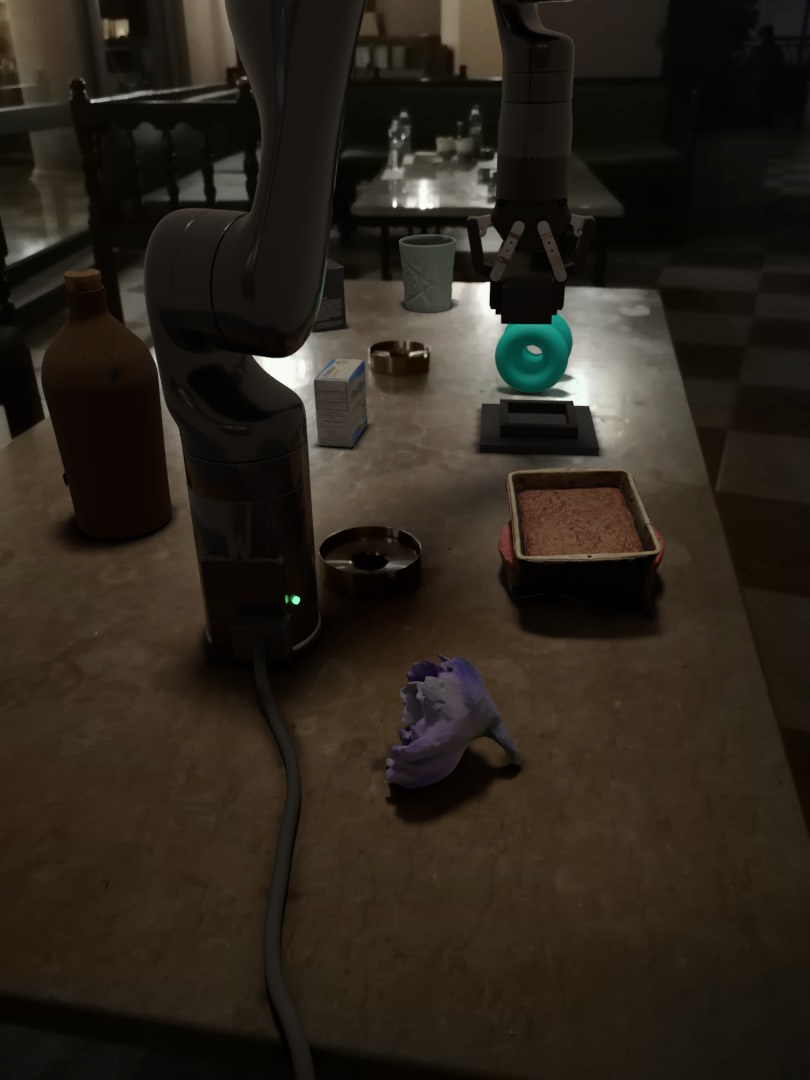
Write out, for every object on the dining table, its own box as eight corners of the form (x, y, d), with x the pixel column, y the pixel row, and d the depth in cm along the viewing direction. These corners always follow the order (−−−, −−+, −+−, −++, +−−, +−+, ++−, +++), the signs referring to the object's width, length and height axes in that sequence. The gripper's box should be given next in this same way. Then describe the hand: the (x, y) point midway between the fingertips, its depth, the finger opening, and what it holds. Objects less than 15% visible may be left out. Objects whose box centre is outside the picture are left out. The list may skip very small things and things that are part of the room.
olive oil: (199, 507, 96) (166, 264, 84) (133, 552, 87) (87, 290, 75) (119, 489, 99) (77, 256, 87) (48, 531, 91) (-8, 279, 79)
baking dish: (488, 637, 78) (501, 546, 71) (498, 515, 92) (510, 430, 85) (658, 659, 77) (686, 568, 70) (642, 532, 91) (665, 447, 84)
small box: (292, 317, 161) (287, 257, 156) (326, 313, 164) (323, 253, 159) (312, 332, 153) (308, 269, 148) (348, 328, 155) (345, 265, 150)
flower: (545, 646, 62) (417, 612, 58) (562, 766, 57) (424, 737, 53) (473, 703, 68) (353, 676, 64) (483, 815, 63) (353, 793, 59)
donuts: (492, 393, 126) (494, 321, 121) (502, 370, 134) (505, 303, 129) (564, 398, 124) (570, 326, 119) (570, 375, 132) (576, 306, 127)
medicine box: (352, 449, 109) (349, 379, 105) (317, 446, 110) (312, 377, 106) (368, 425, 116) (366, 359, 112) (334, 422, 116) (331, 357, 112)
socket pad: (598, 455, 107) (600, 435, 105) (479, 452, 108) (480, 432, 107) (588, 412, 119) (590, 394, 118) (481, 410, 120) (482, 392, 119)
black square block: (551, 324, 99) (553, 287, 97) (500, 324, 99) (502, 287, 97) (549, 310, 103) (551, 275, 101) (500, 310, 104) (502, 275, 102)
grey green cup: (464, 304, 168) (465, 237, 163) (437, 316, 161) (437, 247, 155) (418, 297, 173) (417, 232, 167) (389, 309, 166) (388, 241, 160)
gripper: (462, 154, 90) (460, 322, 98) (609, 153, 89) (594, 323, 97) (465, 145, 97) (462, 304, 105) (601, 144, 95) (588, 304, 104)
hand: (526, 312), depth 101 cm, fingers closed on black square block, 5 cm apart
